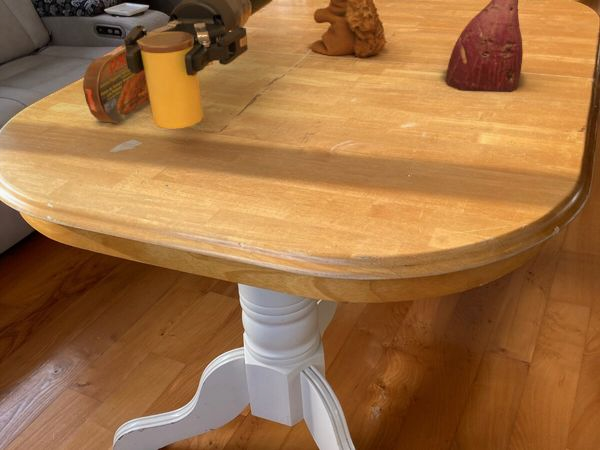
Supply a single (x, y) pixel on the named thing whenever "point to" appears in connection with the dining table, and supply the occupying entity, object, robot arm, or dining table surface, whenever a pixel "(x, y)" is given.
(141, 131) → the dining table surface
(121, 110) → the tin
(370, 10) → the stuffed squirrel
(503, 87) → the vegetable
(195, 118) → the yellow canister
